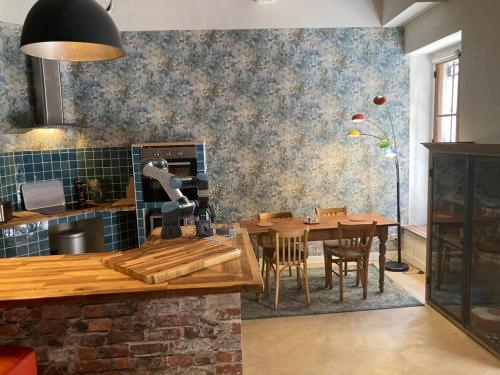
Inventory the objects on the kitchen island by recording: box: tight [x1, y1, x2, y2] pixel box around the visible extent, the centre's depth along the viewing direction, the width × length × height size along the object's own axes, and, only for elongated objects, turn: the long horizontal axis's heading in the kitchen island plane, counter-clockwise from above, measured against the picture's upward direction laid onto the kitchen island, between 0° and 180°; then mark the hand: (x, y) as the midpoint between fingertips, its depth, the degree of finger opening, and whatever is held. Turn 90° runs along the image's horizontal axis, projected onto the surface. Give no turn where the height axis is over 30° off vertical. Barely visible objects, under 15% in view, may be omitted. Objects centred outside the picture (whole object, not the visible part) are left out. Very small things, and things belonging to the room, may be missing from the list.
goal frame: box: [203, 234, 236, 243], centre depth 271 cm, size 13×16×1 cm
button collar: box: [215, 226, 235, 235], centre depth 285 cm, size 9×9×4 cm
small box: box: [195, 219, 214, 238], centre depth 279 cm, size 11×6×10 cm, turn 73°
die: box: [229, 228, 238, 237], centre depth 278 cm, size 4×4×4 cm
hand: (204, 227), depth 279 cm, fingers open, 13 cm apart
